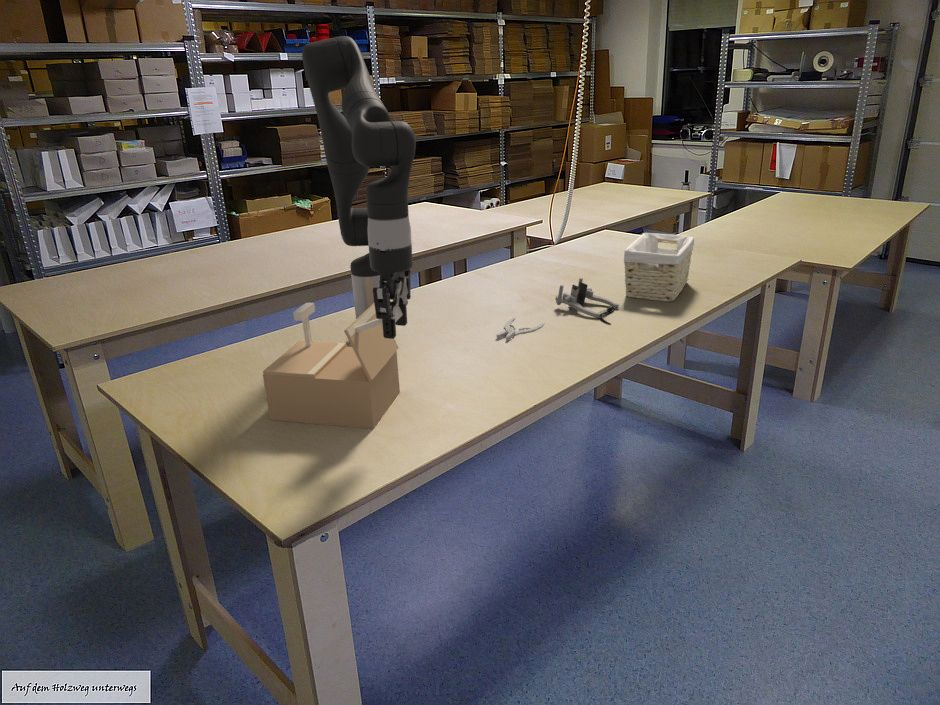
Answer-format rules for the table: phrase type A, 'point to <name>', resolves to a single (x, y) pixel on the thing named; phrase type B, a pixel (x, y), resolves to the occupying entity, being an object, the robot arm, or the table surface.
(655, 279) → the storage basket
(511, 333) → the pliers
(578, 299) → the bike brake
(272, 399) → the carton
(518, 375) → the table surface
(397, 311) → the right flap
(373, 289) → the robot arm
